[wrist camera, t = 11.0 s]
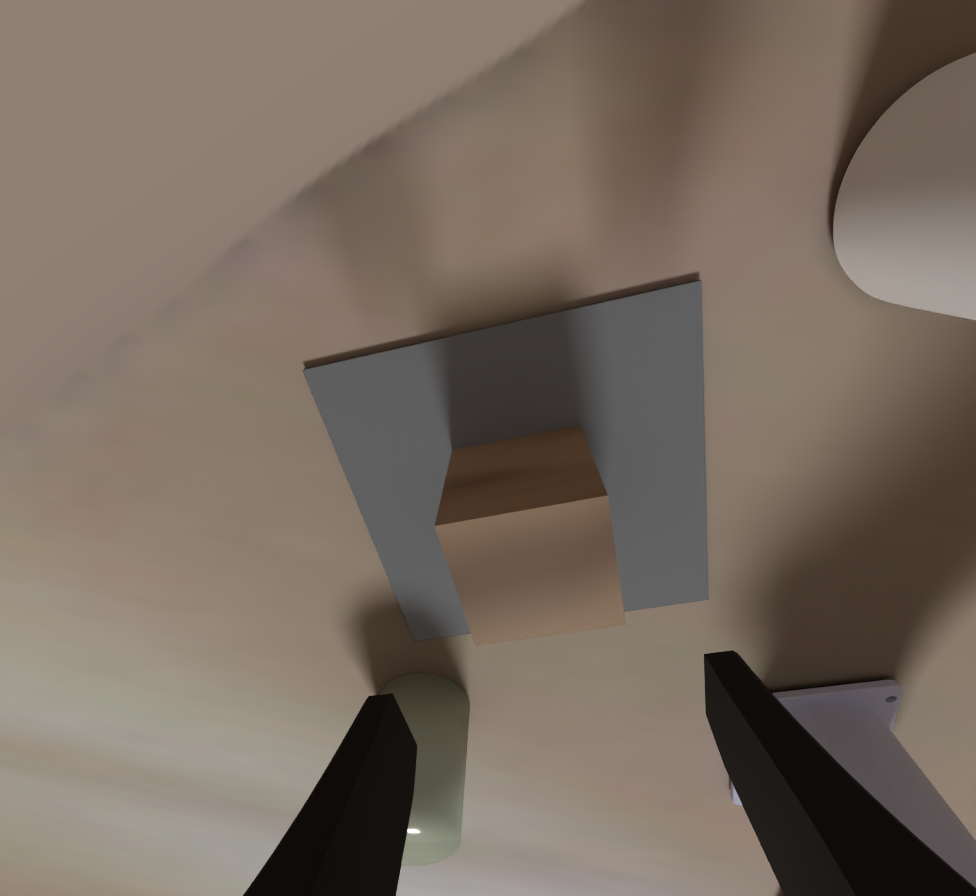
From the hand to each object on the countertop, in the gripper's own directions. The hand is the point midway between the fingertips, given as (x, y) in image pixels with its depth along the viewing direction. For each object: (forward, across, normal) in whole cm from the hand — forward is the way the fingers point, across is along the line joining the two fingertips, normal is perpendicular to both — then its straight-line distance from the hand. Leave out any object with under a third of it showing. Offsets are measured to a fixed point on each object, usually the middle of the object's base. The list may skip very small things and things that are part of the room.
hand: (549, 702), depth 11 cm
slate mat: (+9, 0, 0) cm, 9 cm away
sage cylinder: (+9, +8, +12) cm, 17 cm away
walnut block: (+9, 0, 0) cm, 9 cm away
